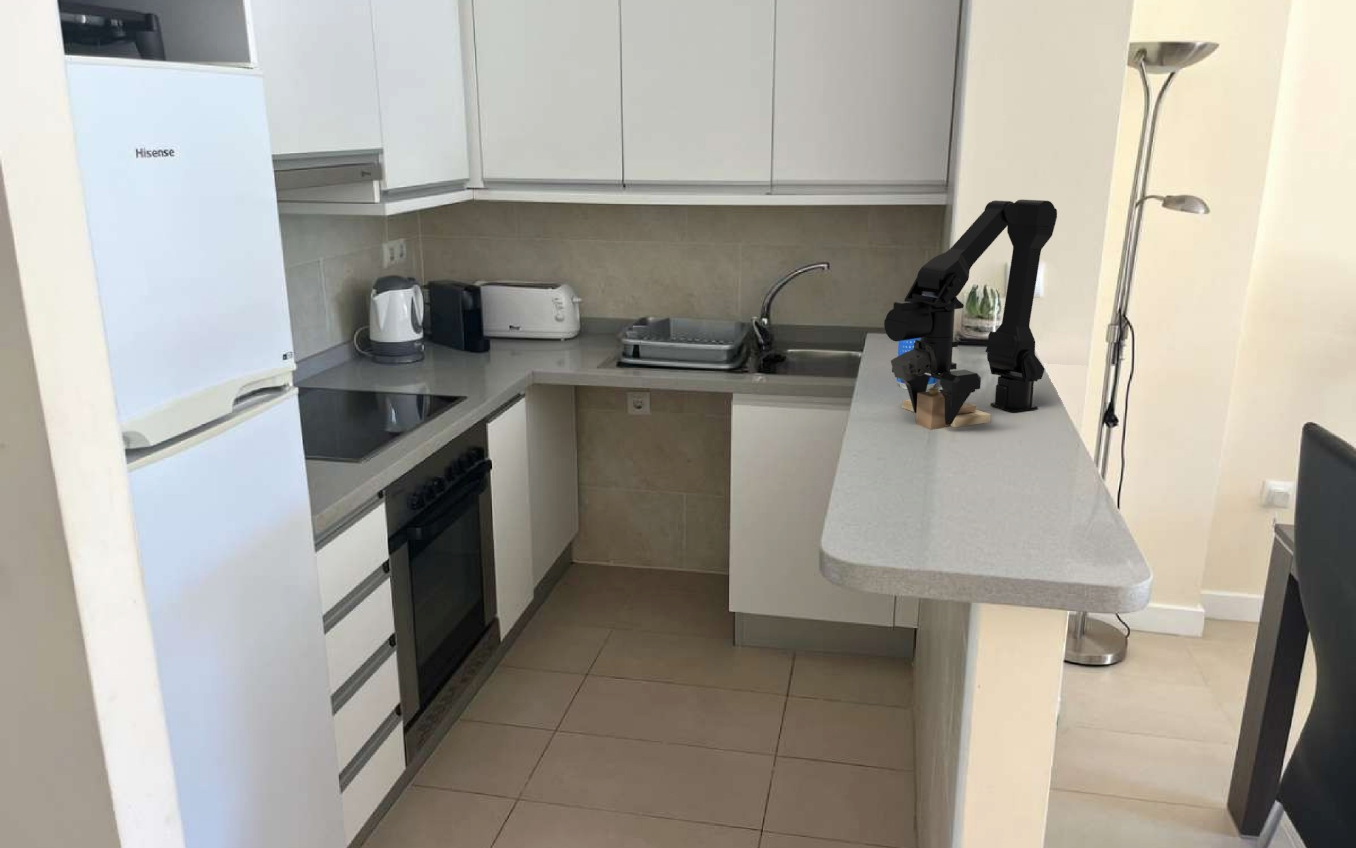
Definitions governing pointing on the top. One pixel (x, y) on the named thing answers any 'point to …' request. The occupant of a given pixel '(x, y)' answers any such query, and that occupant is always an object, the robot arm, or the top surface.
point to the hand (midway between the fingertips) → (932, 418)
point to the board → (959, 416)
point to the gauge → (935, 409)
